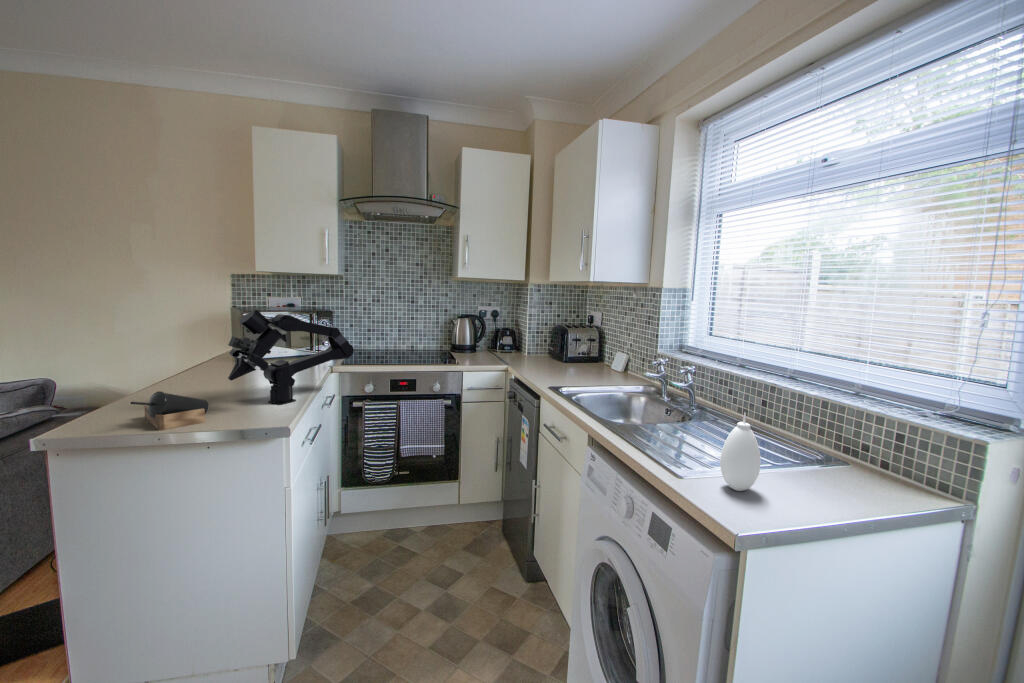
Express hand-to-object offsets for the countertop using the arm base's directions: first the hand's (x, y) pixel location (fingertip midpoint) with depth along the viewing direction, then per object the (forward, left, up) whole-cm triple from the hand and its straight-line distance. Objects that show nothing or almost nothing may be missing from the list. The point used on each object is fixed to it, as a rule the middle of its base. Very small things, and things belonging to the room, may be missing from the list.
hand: (229, 379), depth 146 cm
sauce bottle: (-21, +150, -11) cm, 152 cm away
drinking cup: (+7, -2, -8) cm, 11 cm away
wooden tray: (+14, -3, -10) cm, 18 cm away
